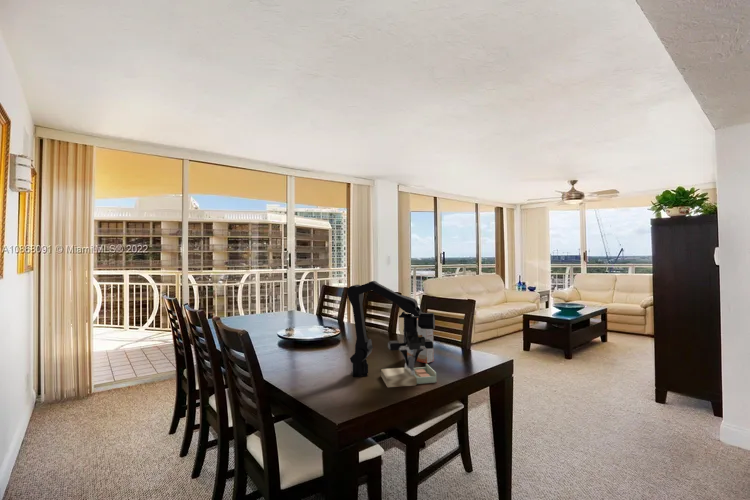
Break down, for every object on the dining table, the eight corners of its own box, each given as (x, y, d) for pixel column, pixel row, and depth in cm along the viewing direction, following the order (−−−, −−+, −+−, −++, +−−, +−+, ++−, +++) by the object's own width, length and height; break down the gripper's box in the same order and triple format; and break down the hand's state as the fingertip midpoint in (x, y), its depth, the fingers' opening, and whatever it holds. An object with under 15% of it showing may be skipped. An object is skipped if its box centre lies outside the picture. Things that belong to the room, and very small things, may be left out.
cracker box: (404, 358, 190) (404, 317, 190) (412, 356, 194) (411, 315, 194) (426, 364, 180) (426, 320, 180) (434, 361, 184) (433, 319, 184)
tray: (416, 383, 153) (416, 374, 153) (408, 373, 166) (408, 364, 166) (436, 382, 155) (436, 372, 155) (427, 372, 168) (426, 363, 168)
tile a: (430, 376, 156) (430, 380, 156) (427, 373, 160) (427, 377, 160) (421, 377, 155) (421, 380, 155) (418, 374, 159) (418, 377, 159)
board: (387, 387, 150) (387, 379, 150) (381, 376, 164) (381, 369, 164) (416, 385, 152) (416, 377, 152) (407, 374, 166) (407, 367, 166)
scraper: (409, 375, 154) (412, 359, 154) (403, 367, 165) (405, 352, 165) (415, 376, 154) (417, 360, 155) (408, 367, 165) (410, 353, 165)
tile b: (426, 371, 162) (426, 375, 162) (423, 369, 166) (423, 372, 166) (417, 372, 161) (417, 376, 161) (414, 369, 165) (414, 373, 165)
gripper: (392, 333, 150) (393, 372, 150) (437, 331, 153) (437, 369, 153) (387, 327, 161) (387, 364, 161) (429, 326, 164) (429, 361, 164)
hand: (410, 364), depth 160 cm, fingers closed on scraper, 3 cm apart
